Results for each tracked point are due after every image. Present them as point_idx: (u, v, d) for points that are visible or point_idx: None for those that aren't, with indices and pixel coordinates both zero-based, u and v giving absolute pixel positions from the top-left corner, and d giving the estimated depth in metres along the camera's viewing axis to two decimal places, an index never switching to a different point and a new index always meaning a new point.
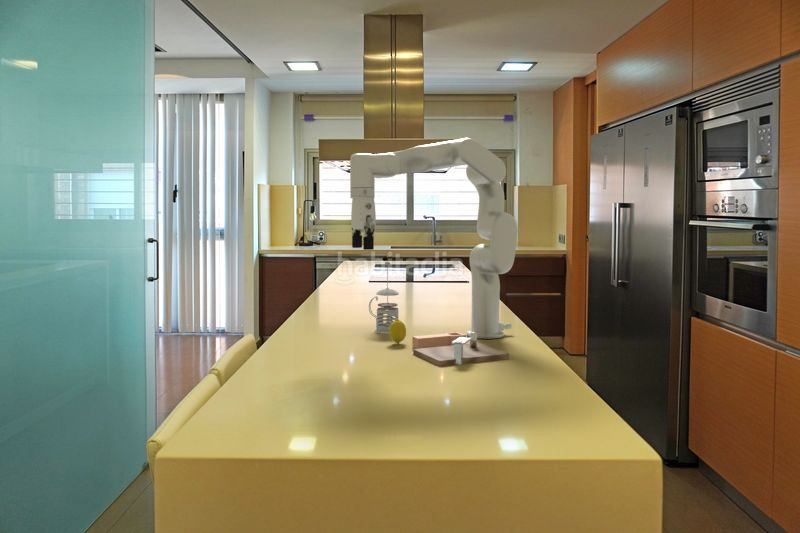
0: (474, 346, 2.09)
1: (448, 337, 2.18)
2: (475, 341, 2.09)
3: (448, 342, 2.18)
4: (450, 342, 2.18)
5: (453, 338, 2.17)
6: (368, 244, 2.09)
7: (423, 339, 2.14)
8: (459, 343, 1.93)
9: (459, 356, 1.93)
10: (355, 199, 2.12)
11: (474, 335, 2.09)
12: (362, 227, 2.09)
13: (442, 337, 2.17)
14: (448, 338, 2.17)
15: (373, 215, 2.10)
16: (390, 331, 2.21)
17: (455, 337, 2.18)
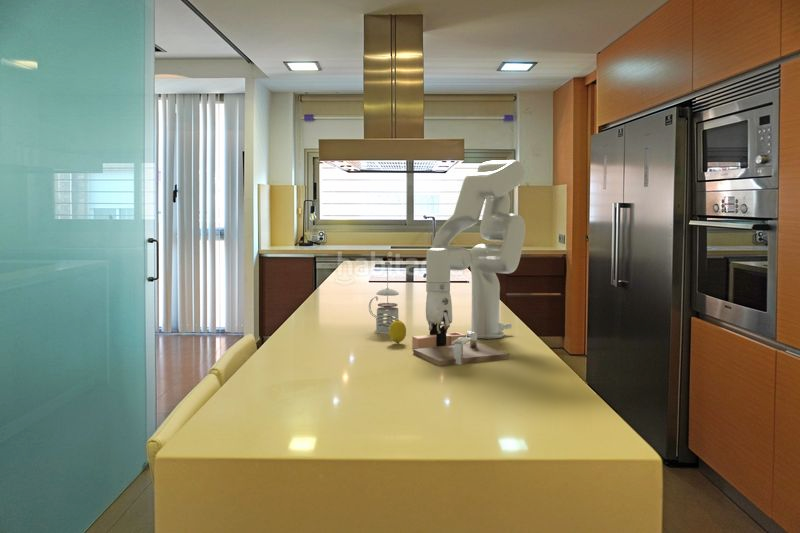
0: (474, 346, 2.09)
1: (448, 337, 2.18)
2: (475, 341, 2.09)
3: (448, 342, 2.18)
4: (450, 342, 2.18)
5: (453, 338, 2.17)
6: (441, 341, 2.15)
7: (423, 339, 2.14)
8: (459, 343, 1.93)
9: (459, 356, 1.93)
10: (431, 293, 2.15)
11: (474, 335, 2.09)
12: (439, 322, 2.13)
13: None
14: (448, 338, 2.17)
15: (450, 310, 2.14)
16: (390, 331, 2.21)
17: (455, 337, 2.18)
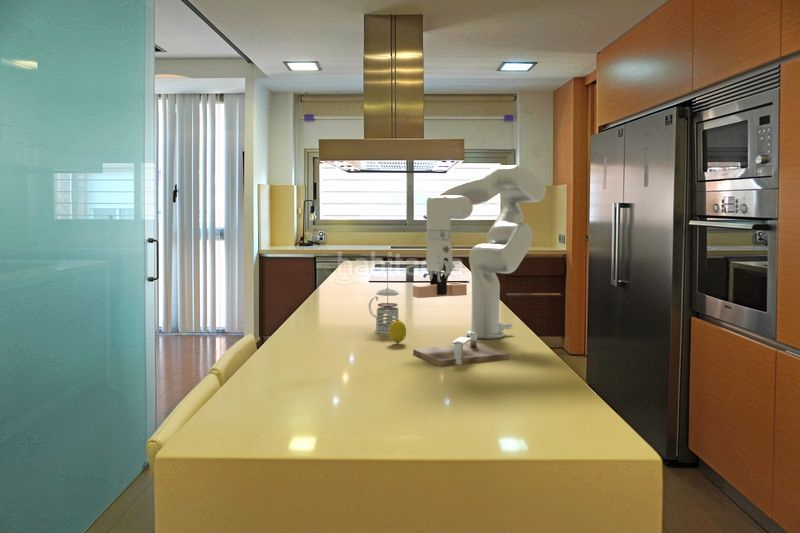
0: (474, 346, 2.09)
1: (449, 286, 2.16)
2: (475, 341, 2.09)
3: (449, 291, 2.16)
4: (451, 291, 2.16)
5: (454, 287, 2.16)
6: (442, 289, 2.14)
7: (423, 287, 2.12)
8: (459, 343, 1.93)
9: (459, 356, 1.93)
10: (432, 241, 2.14)
11: (474, 335, 2.09)
12: (440, 270, 2.11)
13: None
14: (448, 287, 2.16)
15: (450, 258, 2.12)
16: (390, 331, 2.21)
17: (456, 286, 2.16)
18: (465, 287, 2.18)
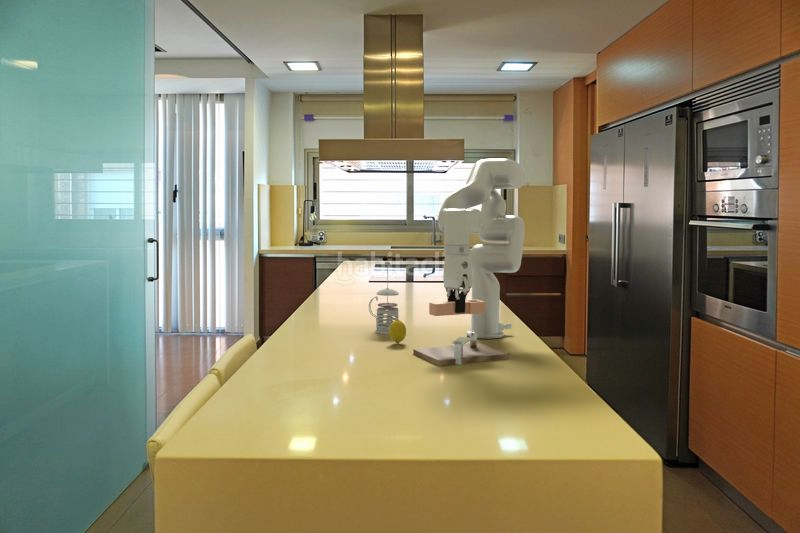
0: (474, 346, 2.09)
1: (467, 304, 2.05)
2: (475, 341, 2.09)
3: (467, 309, 2.05)
4: (469, 309, 2.05)
5: (472, 305, 2.05)
6: (460, 307, 2.03)
7: (441, 305, 2.02)
8: (459, 343, 1.93)
9: (459, 356, 1.93)
10: (450, 257, 2.03)
11: (474, 335, 2.09)
12: (458, 286, 2.01)
13: None
14: (467, 305, 2.05)
15: (469, 274, 2.01)
16: (390, 331, 2.21)
17: (474, 304, 2.06)
18: (484, 305, 2.07)
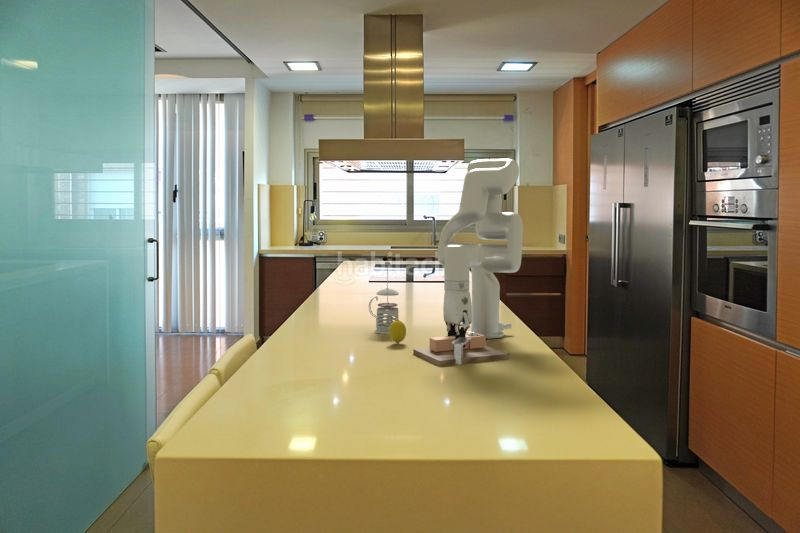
0: None
1: None
2: None
3: (467, 344, 2.07)
4: (469, 344, 2.07)
5: (472, 339, 2.06)
6: None
7: (441, 341, 2.03)
8: (459, 343, 1.93)
9: (459, 356, 1.93)
10: (450, 292, 2.04)
11: (474, 335, 2.09)
12: (458, 322, 2.02)
13: None
14: None
15: (469, 310, 2.03)
16: (390, 331, 2.21)
17: (474, 338, 2.07)
18: (484, 339, 2.08)
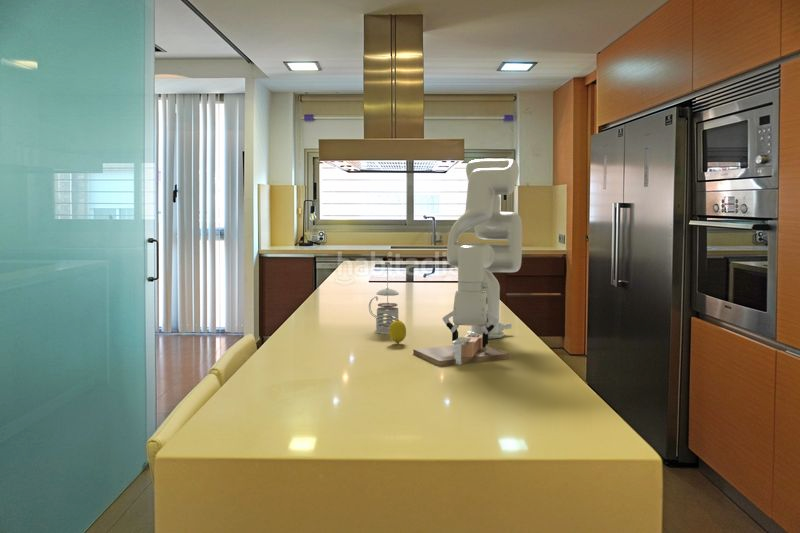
0: None
1: (478, 339, 2.06)
2: None
3: (478, 345, 2.06)
4: (479, 344, 2.07)
5: (481, 340, 2.07)
6: (487, 341, 2.02)
7: (473, 345, 1.97)
8: (459, 343, 1.93)
9: (459, 356, 1.93)
10: (470, 294, 2.00)
11: (474, 335, 2.09)
12: (484, 323, 2.00)
13: (477, 340, 2.04)
14: (478, 341, 2.06)
15: (488, 309, 2.03)
16: (390, 331, 2.21)
17: (481, 338, 2.08)
18: None
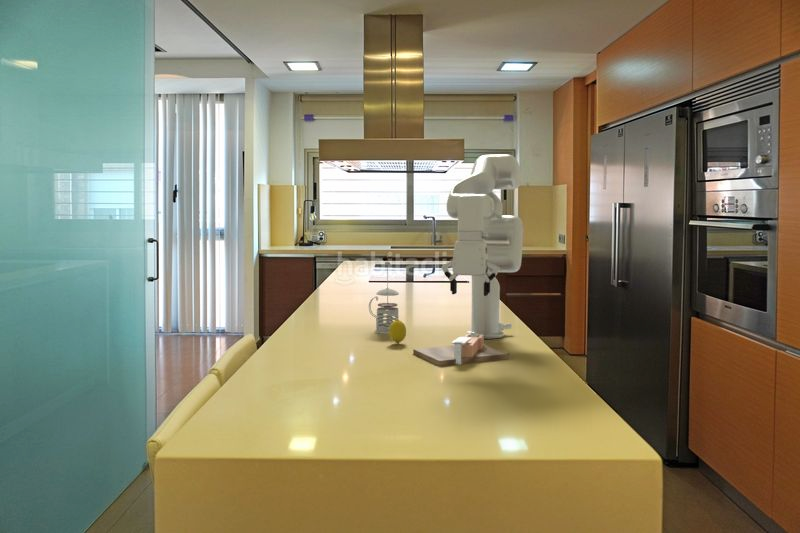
0: None
1: (478, 339, 2.06)
2: None
3: (478, 345, 2.06)
4: (479, 344, 2.07)
5: (481, 340, 2.07)
6: (489, 290, 2.01)
7: (473, 345, 1.97)
8: (459, 343, 1.93)
9: (459, 356, 1.93)
10: (470, 243, 2.00)
11: (474, 335, 2.09)
12: (483, 273, 2.00)
13: (477, 340, 2.04)
14: (478, 341, 2.06)
15: (488, 259, 2.02)
16: (390, 331, 2.21)
17: (481, 338, 2.08)
18: (483, 338, 2.11)
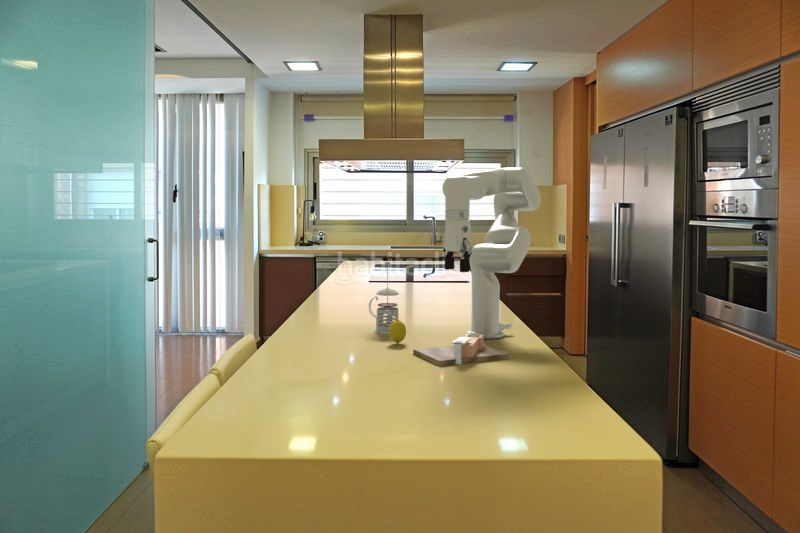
0: None
1: (478, 339, 2.06)
2: None
3: (478, 345, 2.06)
4: (479, 344, 2.07)
5: (481, 340, 2.07)
6: (465, 267, 2.10)
7: (473, 345, 1.97)
8: (459, 343, 1.93)
9: (459, 356, 1.93)
10: (450, 221, 2.13)
11: (474, 335, 2.09)
12: (459, 250, 2.10)
13: (477, 340, 2.04)
14: (478, 341, 2.06)
15: (469, 238, 2.11)
16: (390, 331, 2.21)
17: (481, 338, 2.08)
18: (483, 338, 2.11)
